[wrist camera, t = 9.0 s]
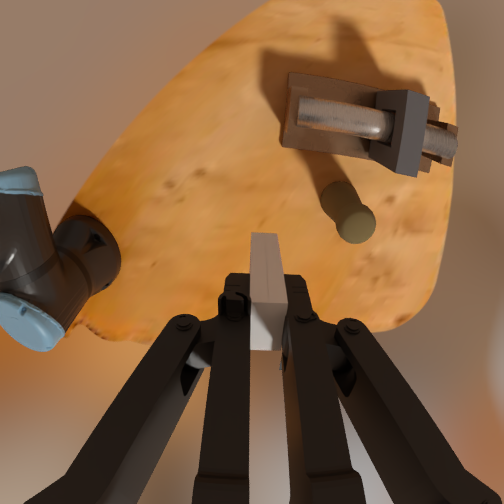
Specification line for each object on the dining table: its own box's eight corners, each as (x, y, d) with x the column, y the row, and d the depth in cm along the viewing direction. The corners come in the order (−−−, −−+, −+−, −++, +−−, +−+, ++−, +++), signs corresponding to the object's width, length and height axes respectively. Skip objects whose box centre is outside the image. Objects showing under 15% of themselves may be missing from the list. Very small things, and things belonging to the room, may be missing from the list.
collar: (368, 156, 39) (395, 173, 30) (377, 91, 34) (408, 89, 25) (386, 160, 39) (416, 177, 30) (395, 96, 34) (429, 96, 25)
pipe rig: (281, 146, 40) (286, 156, 33) (289, 72, 35) (295, 64, 27) (426, 171, 40) (454, 187, 33) (437, 107, 35) (468, 112, 27)
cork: (326, 176, 42) (344, 199, 32) (362, 187, 42) (389, 212, 33) (315, 213, 45) (329, 245, 35) (351, 222, 45) (372, 255, 36)
